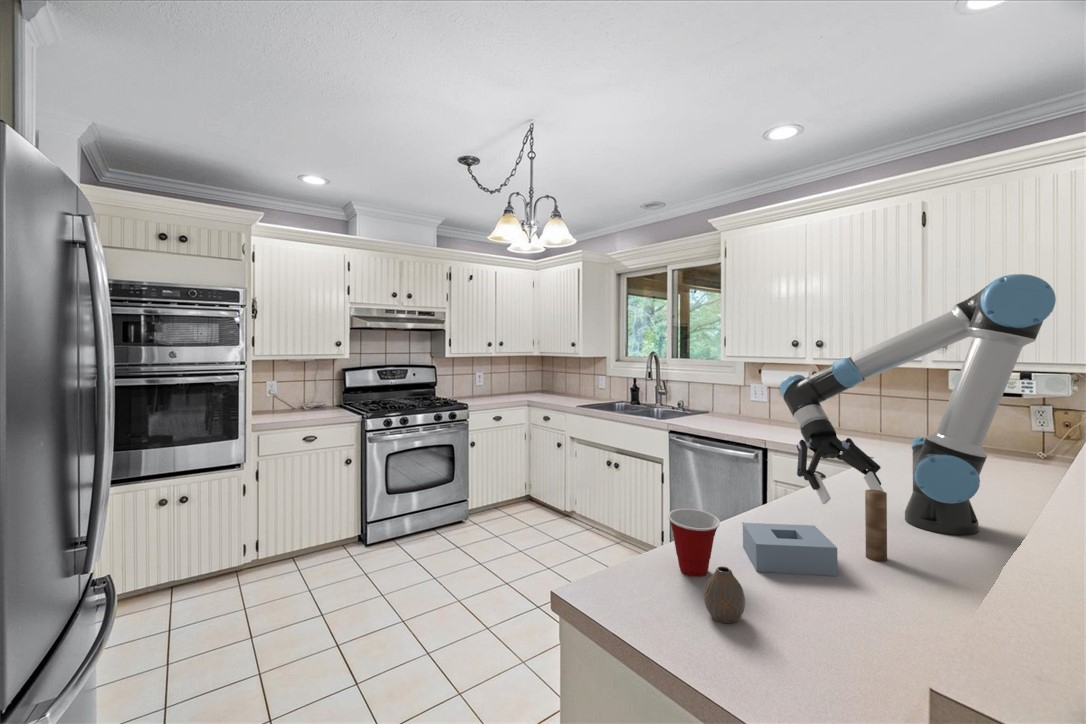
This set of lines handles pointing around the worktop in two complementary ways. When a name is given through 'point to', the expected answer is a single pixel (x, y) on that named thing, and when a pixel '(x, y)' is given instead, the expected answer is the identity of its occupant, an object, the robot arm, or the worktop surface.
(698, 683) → the worktop surface
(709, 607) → the vase
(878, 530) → the walnut peg
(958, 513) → the robot arm
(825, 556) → the bore block
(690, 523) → the plastic cup
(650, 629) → the worktop surface
